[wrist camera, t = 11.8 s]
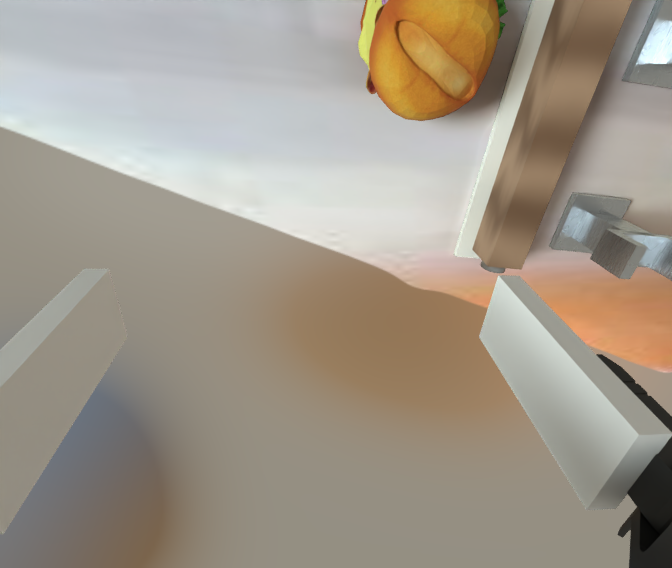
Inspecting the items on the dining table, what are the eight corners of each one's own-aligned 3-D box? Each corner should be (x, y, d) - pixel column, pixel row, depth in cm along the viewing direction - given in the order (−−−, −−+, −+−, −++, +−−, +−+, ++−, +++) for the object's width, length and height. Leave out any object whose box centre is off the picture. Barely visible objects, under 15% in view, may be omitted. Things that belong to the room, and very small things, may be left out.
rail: (573, -57, 28) (610, -74, 25) (615, -48, 29) (658, -63, 25) (469, 257, 41) (484, 275, 38) (499, 260, 41) (517, 278, 38)
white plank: (550, -58, 29) (554, -61, 28) (633, -41, 30) (638, -43, 29) (453, 254, 41) (455, 256, 41) (513, 259, 42) (516, 262, 42)
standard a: (570, 192, 39) (647, 228, 30) (627, 198, 40) (718, 236, 31) (547, 246, 42) (610, 293, 33) (600, 251, 42) (676, 298, 34)
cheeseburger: (495, -59, 28) (563, -51, 21) (456, 94, 36) (496, 138, 29) (361, -70, 27) (384, -65, 20) (349, 90, 35) (363, 135, 28)
